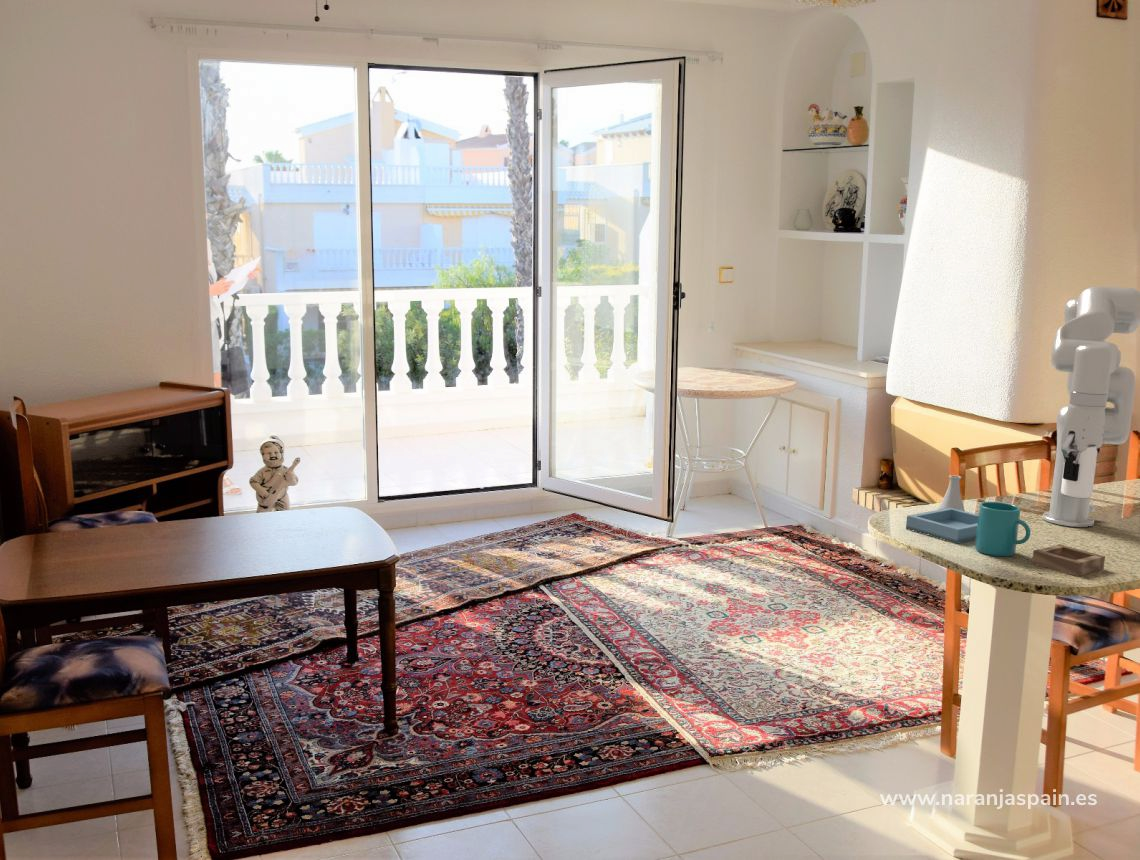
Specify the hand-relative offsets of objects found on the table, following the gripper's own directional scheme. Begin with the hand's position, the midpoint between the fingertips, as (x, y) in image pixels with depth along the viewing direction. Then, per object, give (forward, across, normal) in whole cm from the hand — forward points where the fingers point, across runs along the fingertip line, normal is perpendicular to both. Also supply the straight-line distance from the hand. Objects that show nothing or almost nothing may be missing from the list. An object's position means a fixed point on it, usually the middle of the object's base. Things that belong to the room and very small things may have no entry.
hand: (1078, 477), depth 244 cm
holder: (+21, +1, 0) cm, 21 cm away
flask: (+22, -19, -45) cm, 53 cm away
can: (+4, 0, 0) cm, 4 cm away
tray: (+21, -1, -32) cm, 38 cm away
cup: (+21, +5, -14) cm, 26 cm away
